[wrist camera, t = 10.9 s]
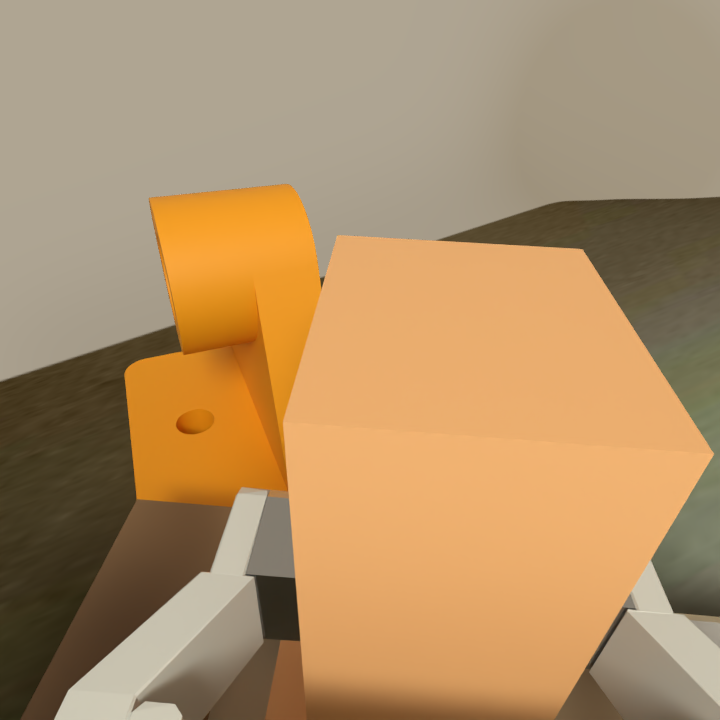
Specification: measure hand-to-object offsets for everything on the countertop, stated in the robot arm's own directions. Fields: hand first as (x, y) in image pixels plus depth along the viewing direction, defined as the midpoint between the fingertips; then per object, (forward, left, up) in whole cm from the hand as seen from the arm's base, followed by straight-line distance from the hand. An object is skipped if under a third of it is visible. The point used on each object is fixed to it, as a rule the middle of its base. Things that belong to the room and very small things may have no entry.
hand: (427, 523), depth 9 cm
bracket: (-8, +10, -10) cm, 16 cm away
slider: (0, -1, -8) cm, 8 cm away
